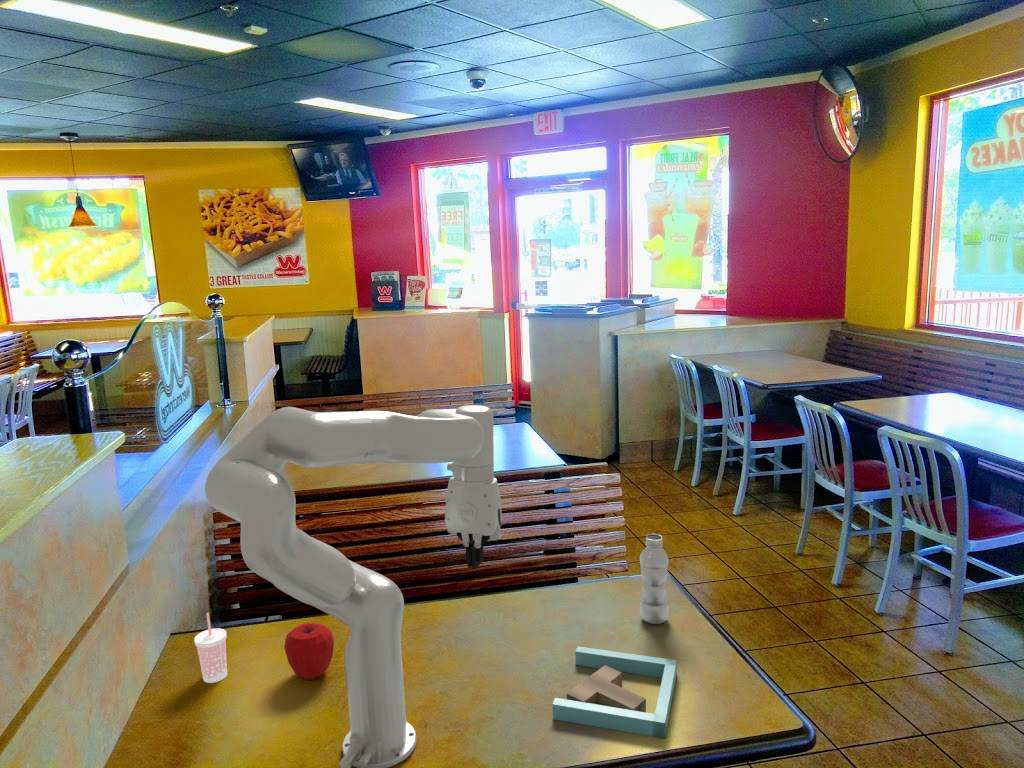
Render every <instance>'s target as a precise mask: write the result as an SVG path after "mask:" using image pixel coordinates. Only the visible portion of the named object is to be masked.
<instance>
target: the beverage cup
mask: <svg viewBox="0 0 1024 768" xmlns="http://www.w3.org/2000/svg"><path fill="white" fill-rule="evenodd" d="M206 621H207V629H206V630H203V631H201V632H198V634H197V635H195V637H194V638H193V639H194V645H195V646H196V650H197V655H198V660H199V665H200V669H201V674H202V675H201V676H202V679H203V682H205V683H206V684H207V683H208V684H213V683H214V684H215V683H218V682H220V681H222V680H224V679H225V678H226V677H227V676H228V662H227V643H226V639H227V638H228V636H227V635H228V634H227V630H225V629H224V628H219V627H218V628H212V627H211V620H210V612H206Z"/></svg>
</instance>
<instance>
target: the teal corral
mask: <svg viewBox="0 0 1024 768" xmlns="http://www.w3.org/2000/svg"><path fill="white" fill-rule="evenodd" d="M574 653H575V665H576V666H579V667H589V668H592V669H593V668H595V669H600V668H602V667H603V666H604V665H606V666H608V667H610V668H613V669H615V670H617V671H619V672H622V673H628V674H633V675H641V676H649V677H654V678H661V683H660V686H659V687H660V688H659V693H658V696H657V701H656V705H655V711H654V713H650V712H646V713H645V712H639V711H633V710H627V709H621V708H615V707H609V706H603V705H597V704H591V703H585V702H579V701H573V700H567V698H561V697H560V698H559V697H555V698H554V699H553V701H552V704H551V705H552V720H557V721H563V722H567V723H568V722H569V723H572V724H573V723H574V724H580V725H583V726H590V727H597V728H602V729H608V730H614V731H620V732H625V733H631V734H636V735H642V736H647V737H654V738H658V739H660V738H661V739H666V734H667V730H668V723H669V718H670V712H671V708H672V707H671V706H672V701H673V697H674V696H673V695H674V691H675V684H676V679H677V673H678V672H677V668H678V667H677V666H678V663H677V662H678V661H677V659H670V658H663V657H658V656H657V657H655V656H649V655H641V654H635V653H628V652H627V653H626V652H620V651H615V650H613V651H612V650H606V649H599V648H592V647H584V646H577V647H576V649H575V652H574Z"/></svg>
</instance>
